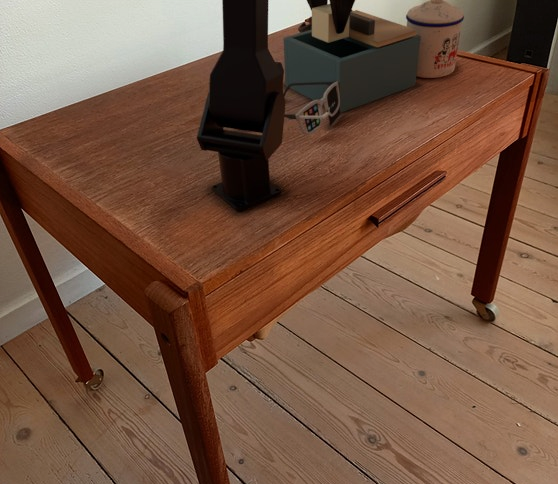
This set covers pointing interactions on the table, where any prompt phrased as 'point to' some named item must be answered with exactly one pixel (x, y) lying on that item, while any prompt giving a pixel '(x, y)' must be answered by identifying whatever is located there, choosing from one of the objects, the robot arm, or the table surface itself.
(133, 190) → the table surface
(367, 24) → the sliding lid
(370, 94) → the box
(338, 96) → the smart glasses
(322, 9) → the block
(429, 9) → the teacup with lid
